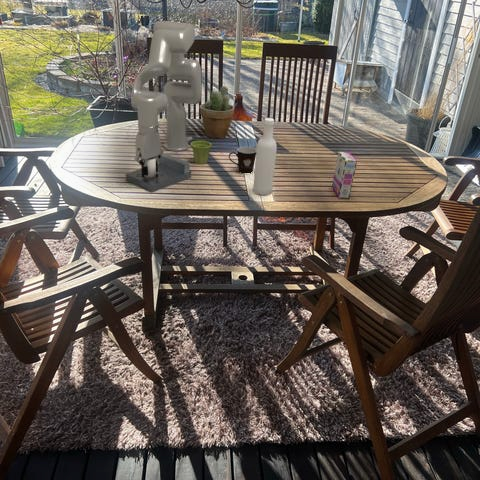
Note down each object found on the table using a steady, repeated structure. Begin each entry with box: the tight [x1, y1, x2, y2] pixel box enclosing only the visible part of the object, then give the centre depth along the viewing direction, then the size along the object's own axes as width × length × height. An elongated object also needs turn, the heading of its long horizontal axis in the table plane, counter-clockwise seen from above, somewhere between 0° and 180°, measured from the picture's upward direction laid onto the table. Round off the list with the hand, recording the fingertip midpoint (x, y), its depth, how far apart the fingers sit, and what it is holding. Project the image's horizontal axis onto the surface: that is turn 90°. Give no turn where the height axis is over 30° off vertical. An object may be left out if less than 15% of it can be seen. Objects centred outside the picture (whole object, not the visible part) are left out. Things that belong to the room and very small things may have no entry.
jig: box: [125, 152, 192, 193], centre depth 190 cm, size 22×16×7 cm
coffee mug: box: [228, 146, 257, 174], centre depth 204 cm, size 12×9×10 cm
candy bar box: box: [331, 151, 358, 199], centre depth 188 cm, size 11×5×16 cm, turn 5°
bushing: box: [143, 157, 156, 179], centre depth 186 cm, size 5×5×8 cm
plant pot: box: [190, 140, 212, 165], centre depth 211 cm, size 9×9×9 cm
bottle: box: [252, 117, 278, 196], centre depth 181 cm, size 8×8×30 cm
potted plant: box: [199, 85, 235, 139], centre depth 243 cm, size 18×19×25 cm
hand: (149, 172), depth 187 cm, fingers closed on bushing, 4 cm apart
